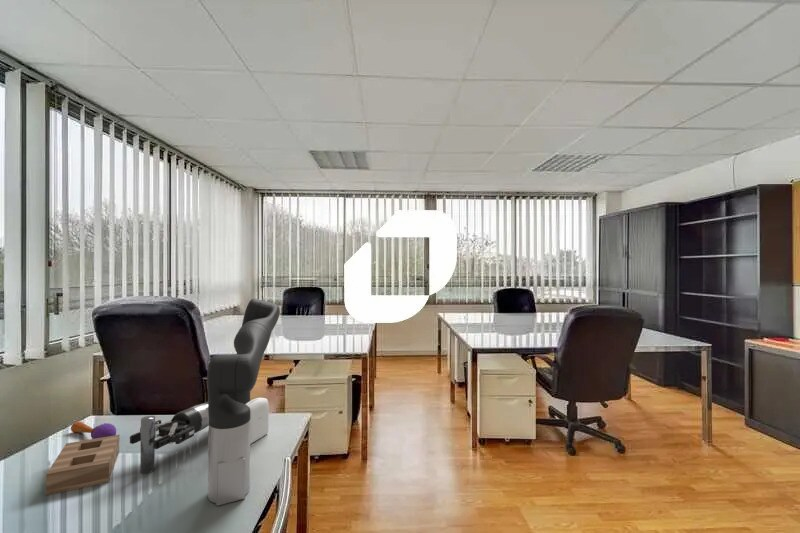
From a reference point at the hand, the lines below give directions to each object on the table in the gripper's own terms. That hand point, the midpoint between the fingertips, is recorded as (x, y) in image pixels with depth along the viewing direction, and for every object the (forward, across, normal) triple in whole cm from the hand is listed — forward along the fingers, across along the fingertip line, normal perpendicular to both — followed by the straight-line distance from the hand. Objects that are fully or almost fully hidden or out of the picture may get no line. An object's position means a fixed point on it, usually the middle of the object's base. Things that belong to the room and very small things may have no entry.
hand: (142, 442), depth 101 cm
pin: (-2, 0, +8) cm, 8 cm away
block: (+4, -15, +8) cm, 17 cm away
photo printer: (-27, +14, +8) cm, 31 cm away
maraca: (-10, -34, +8) cm, 37 cm away
